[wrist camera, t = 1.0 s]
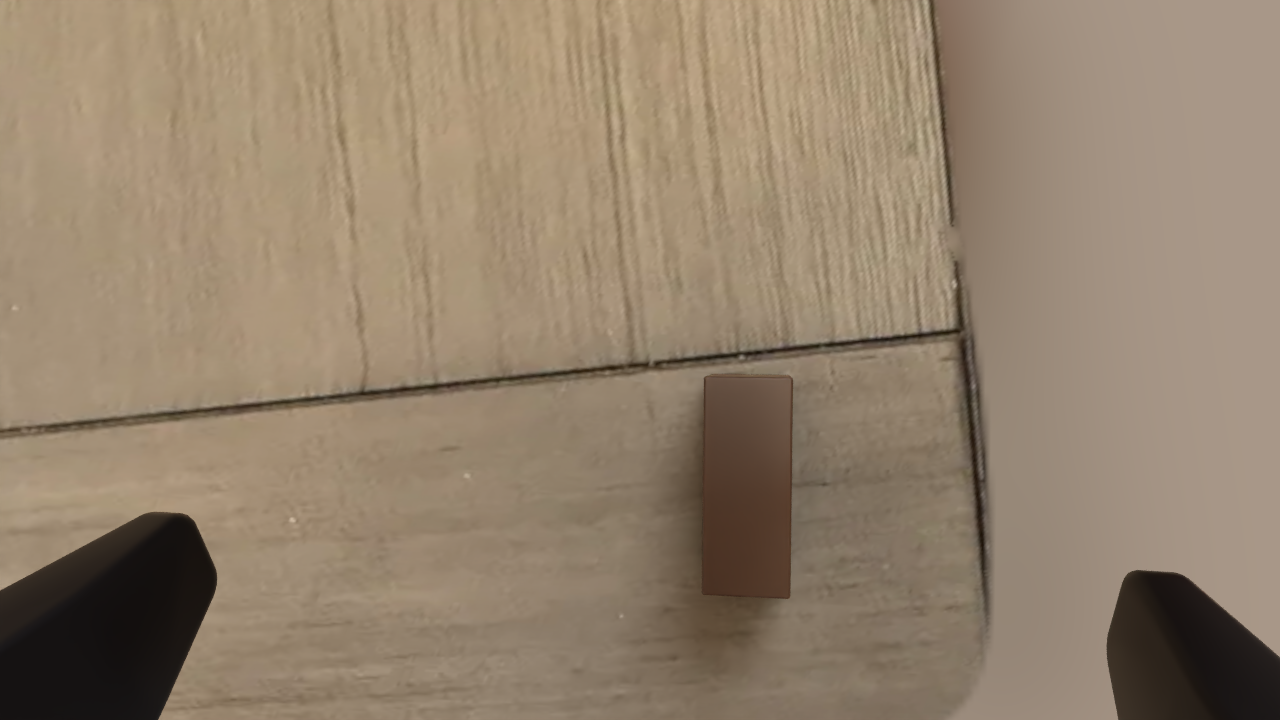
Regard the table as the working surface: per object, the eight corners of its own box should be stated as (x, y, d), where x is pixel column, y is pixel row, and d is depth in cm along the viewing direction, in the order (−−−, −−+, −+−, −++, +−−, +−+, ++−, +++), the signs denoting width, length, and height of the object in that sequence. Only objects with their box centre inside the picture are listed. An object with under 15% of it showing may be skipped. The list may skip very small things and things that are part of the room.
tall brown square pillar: (790, 375, 22) (792, 377, 20) (787, 573, 23) (790, 599, 20) (710, 374, 23) (704, 376, 20) (708, 570, 23) (701, 595, 20)
